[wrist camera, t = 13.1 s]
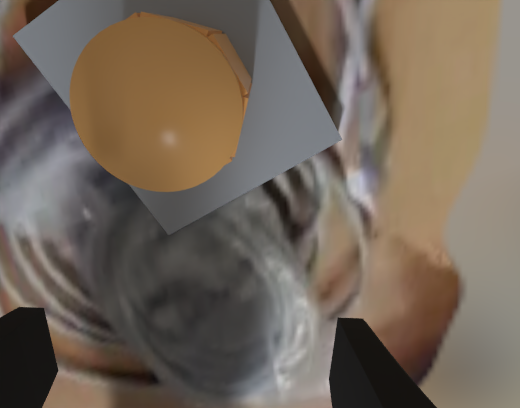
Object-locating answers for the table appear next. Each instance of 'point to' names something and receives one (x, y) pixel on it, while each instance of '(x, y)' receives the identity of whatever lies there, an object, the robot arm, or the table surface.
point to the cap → (160, 101)
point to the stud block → (259, 103)
